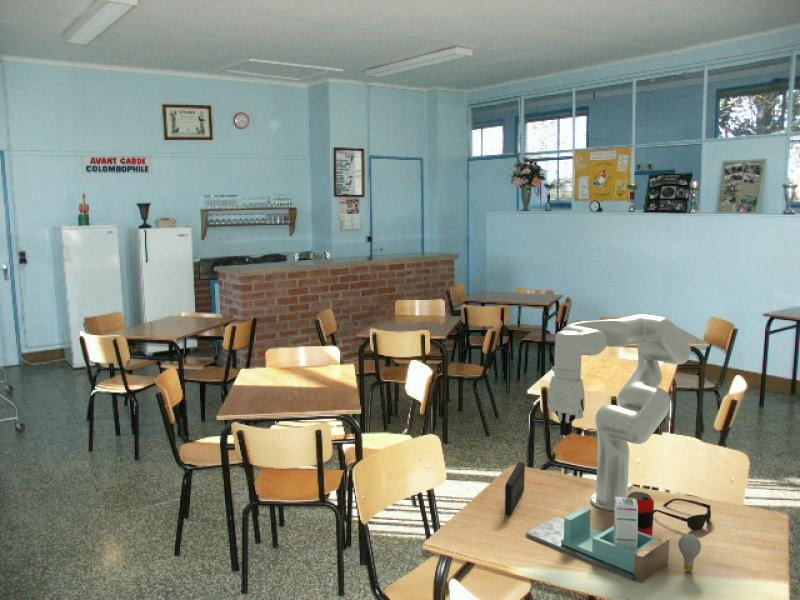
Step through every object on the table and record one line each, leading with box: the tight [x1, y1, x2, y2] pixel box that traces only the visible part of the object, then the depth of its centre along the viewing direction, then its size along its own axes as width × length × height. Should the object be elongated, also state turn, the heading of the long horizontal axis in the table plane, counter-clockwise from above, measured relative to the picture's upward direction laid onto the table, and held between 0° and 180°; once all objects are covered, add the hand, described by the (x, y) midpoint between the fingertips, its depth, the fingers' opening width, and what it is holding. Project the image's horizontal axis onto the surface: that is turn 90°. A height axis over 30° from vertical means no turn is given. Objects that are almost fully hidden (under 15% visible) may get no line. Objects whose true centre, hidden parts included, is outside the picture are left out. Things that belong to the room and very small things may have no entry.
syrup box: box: [613, 497, 638, 551], centre depth 191 cm, size 6×6×14 cm
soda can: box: [628, 491, 655, 536], centre depth 206 cm, size 8×8×12 cm
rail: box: [525, 516, 670, 584], centre depth 199 cm, size 15×36×7 cm, turn 43°
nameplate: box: [504, 461, 526, 516], centre depth 229 cm, size 21×2×10 cm, turn 159°
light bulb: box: [678, 533, 702, 573], centre depth 186 cm, size 6×5×10 cm
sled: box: [561, 506, 659, 573], centre depth 195 cm, size 12×22×7 cm, turn 43°
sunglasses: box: [653, 497, 712, 531], centre depth 217 cm, size 14×16×5 cm
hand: (565, 434), depth 212 cm, fingers closed
